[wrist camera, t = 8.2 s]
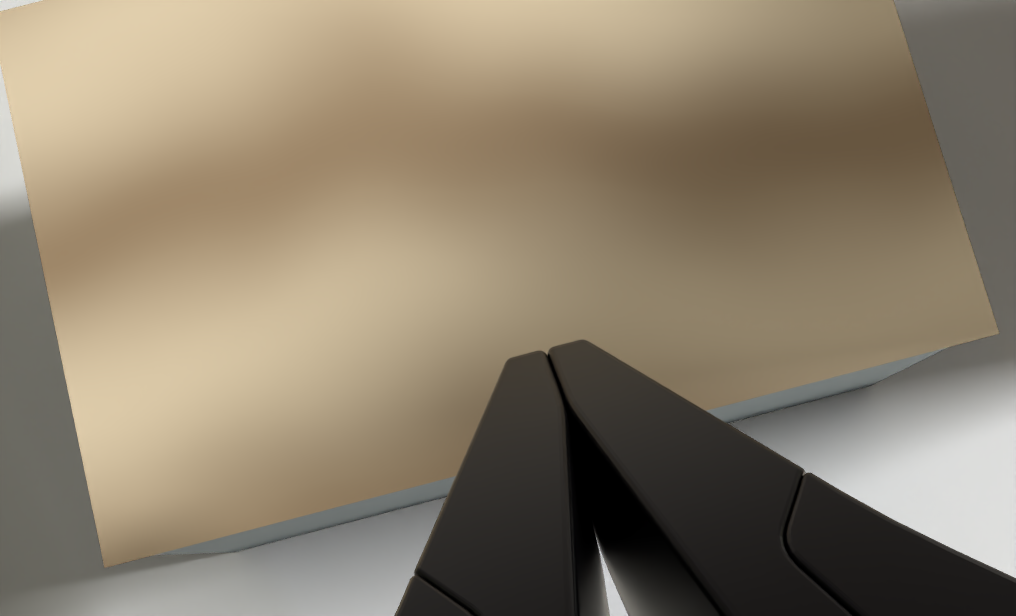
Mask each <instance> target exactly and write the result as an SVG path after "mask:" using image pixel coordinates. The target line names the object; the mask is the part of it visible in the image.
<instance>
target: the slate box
mask: <svg viewBox="0 0 1016 616" xmlns="http://www.w3.org/2000/svg"><path fill="white" fill-rule="evenodd" d="M947 348H948V347H947ZM944 349H946V348H944ZM944 349H940V350H936V351H932V352H928V353H924V354H921V355H917V356H913V357H909V358H905V359H901V360H898V361H894V362H890V363H886V364H882V365H879V366H875V367H871V368H867V369H863V370H859V371H856V372H852V373H848V374H844V375H840V376H837V377H833V378H829V379H825V380H821V381H817V382H814V383H810V384H806V385H802V386H798V387H794V388H791V389H787V390H783V391H779V392H775V393H772V394H768V395H764V396H760V397H756V398H752V399H749V400H745V401H741V402H737V403H733V404H729V405H726V406H722V407H718V408H714V409H710V410H707V412H709V413H710V414H712V415H714V416H715V417H717V418H719V419H720V420H722V421H724V422H725V423H730V422H733V421H737V420H741V419H745V418H749V417H753V416H756V415H760V414H764V413H768V412H772V411H775V410H779V409H783V408H787V407H791V406H795V405H798V404H802V403H806V402H810V401H814V400H817V399H821V398H825V397H829V396H833V395H837V394H840V393H844V392H848V391H852V390H856V389H859V388H863V387H867V386H871V385H873V384H875V383H877V382H879V381H881V380H883V379H885V378H887V377H889V376H891V375H893V374H895V373H897V372H899V371H901V370H903V369H905V368H907V367H909V366H911V365H913V364H915V363H917V362H919V361H921V360H923V359H926V358H928V357H930V356H932V355H934V354H936V353H938V352H940V351H942V350H944ZM455 477H456V476H454V477H450V478H447V479H443V480H439V481H435V482H431V483H428V484H424V485H420V486H416V487H412V488H408V489H405V490H401V491H397V492H393V493H389V494H386V495H382V496H378V497H374V498H370V499H366V500H363V501H359V502H355V503H351V504H347V505H343V506H340V507H336V508H332V509H328V510H324V511H321V512H317V513H313V514H309V515H305V516H301V517H298V518H294V519H290V520H286V521H282V522H278V523H275V524H271V525H267V526H263V527H259V528H256V529H252V530H248V531H244V532H240V533H236V534H233V535H229V536H225V537H221V538H217V539H214V540H210V541H206V542H202V543H198V544H194V545H191V546H187V547H183V548H179V549H175V550H171V551H168V552H164V553H160V554H156V555H172V554H199V553H225V552H237V551H241V550H245V549H249V548H252V547H256V546H260V545H264V544H268V543H271V542H275V541H279V540H283V539H287V538H291V537H294V536H298V535H302V534H306V533H310V532H313V531H317V530H321V529H325V528H329V527H333V526H336V525H340V524H344V523H348V522H352V521H355V520H359V519H363V518H367V517H371V516H375V515H378V514H382V513H386V512H390V511H394V510H397V509H401V508H405V507H409V506H413V505H417V504H420V503H424V502H428V501H432V500H436V499H439V498H443V497H447V495H448V493H449V491H450V488H451V486H452V484H453V481H454V479H455Z"/></svg>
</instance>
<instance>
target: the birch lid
mask: <svg viewBox="0 0 1016 616" xmlns="http://www.w3.org/2000/svg"><path fill="white" fill-rule="evenodd" d="M0 64H1V69H2V74H3V79H4V83H5V88H6V93H7V98H8V103H9V108H10V113H11V117H12V122H13V127H14V132H15V137H16V142H17V146H18V151H19V156H20V161H21V166H22V171H23V175H24V180H25V185H26V190H27V195H28V200H29V205H30V209H31V214H32V219H33V224H34V229H35V234H36V238H37V243H38V248H39V253H40V258H41V263H42V267H43V272H44V277H45V282H46V287H47V292H48V297H49V301H50V306H51V311H52V316H53V321H54V326H55V330H56V335H57V340H58V345H59V350H60V355H61V359H62V364H63V369H64V374H65V379H66V384H67V389H68V393H69V398H70V403H71V408H72V413H73V418H74V422H75V427H76V432H77V437H78V442H79V447H80V451H81V456H82V461H83V466H84V471H85V476H86V481H87V485H88V490H89V495H90V500H91V505H92V510H93V514H94V519H95V524H96V529H97V534H98V539H99V543H100V548H101V553H102V558H103V563H104V568H106V567H110V566H114V565H118V564H122V563H126V562H129V561H133V560H137V559H141V558H145V557H149V556H152V555H156V554H160V553H164V552H168V551H171V550H175V549H179V548H183V547H187V546H191V545H194V544H198V543H202V542H206V541H210V540H214V539H217V538H221V537H225V536H229V535H233V534H236V533H240V532H244V531H248V530H252V529H256V528H259V527H263V526H267V525H271V524H275V523H278V522H282V521H286V520H290V519H294V518H298V517H301V516H305V515H309V514H313V513H317V512H321V511H324V510H328V509H332V508H336V507H340V506H343V505H347V504H351V503H355V502H359V501H363V500H366V499H370V498H374V497H378V496H382V495H386V494H389V493H393V492H397V491H401V490H405V489H408V488H412V487H416V486H420V485H424V484H428V483H431V482H435V481H439V480H443V479H447V478H450V477H454V476H456V475H457V472H458V470H459V468H460V465H461V463H462V461H463V458H464V456H465V454H466V452H467V449H468V447H469V445H470V442H471V440H472V438H473V436H474V433H475V431H476V429H477V426H478V424H479V422H480V419H481V417H482V415H483V413H484V410H485V408H486V406H487V403H488V401H489V399H490V397H491V394H492V392H493V390H494V387H495V385H496V383H497V380H498V378H499V376H500V374H501V371H502V369H503V367H504V364H505V362H506V361H507V360H508V359H509V358H511V357H515V356H519V355H523V354H527V353H530V352H534V351H544V352H545V353H546V354H547V353H548V350H549V349H550V348H552V347H554V346H557V345H561V344H565V343H569V342H573V341H576V340H581V339H584V340H587V341H589V342H591V343H593V344H594V345H596V346H598V347H599V348H601V349H603V350H604V351H606V352H608V353H609V354H611V355H613V356H614V357H616V358H618V359H619V360H621V361H623V362H625V363H626V364H628V365H630V366H631V367H633V368H635V369H636V370H638V371H640V372H641V373H643V374H645V375H646V376H648V377H650V378H651V379H653V380H655V381H656V382H658V383H660V384H662V385H663V386H665V387H667V388H668V389H670V390H672V391H673V392H675V393H677V394H678V395H680V396H682V397H683V398H685V399H687V400H688V401H690V402H692V403H693V404H695V405H697V406H699V407H700V408H702V409H704V410H705V411H707V410H710V409H714V408H718V407H722V406H726V405H729V404H733V403H737V402H741V401H745V400H749V399H752V398H756V397H760V396H764V395H768V394H772V393H775V392H779V391H783V390H787V389H791V388H794V387H798V386H802V385H806V384H810V383H814V382H817V381H821V380H825V379H829V378H833V377H837V376H840V375H844V374H848V373H852V372H856V371H859V370H863V369H867V368H871V367H875V366H879V365H882V364H886V363H890V362H894V361H898V360H901V359H905V358H909V357H913V356H917V355H921V354H924V353H928V352H932V351H936V350H940V349H944V348H947V347H951V346H955V345H959V344H963V343H966V342H970V341H974V340H978V339H982V338H986V337H989V336H993V335H997V334H999V331H998V328H997V324H996V321H995V318H994V315H993V312H992V309H991V305H990V302H989V299H988V296H987V293H986V290H985V287H984V283H983V280H982V277H981V274H980V271H979V268H978V265H977V261H976V258H975V255H974V252H973V249H972V246H971V243H970V239H969V236H968V233H967V230H966V227H965V224H964V221H963V217H962V214H961V211H960V208H959V205H958V202H957V199H956V195H955V192H954V189H953V186H952V183H951V180H950V177H949V173H948V170H947V167H946V164H945V161H944V158H943V155H942V151H941V148H940V145H939V142H938V139H937V136H936V133H935V129H934V126H933V123H932V120H931V117H930V114H929V111H928V107H927V104H926V101H925V98H924V95H923V92H922V89H921V85H920V82H919V79H918V76H917V73H916V70H915V66H914V63H913V60H912V57H911V54H910V51H909V48H908V44H907V41H906V38H905V35H904V32H903V29H902V26H901V22H900V19H899V16H898V13H897V10H896V7H895V4H894V0H43V1H39V2H35V3H31V4H27V5H24V6H20V7H16V8H12V9H8V10H4V11H0ZM547 356H548V354H547Z"/></svg>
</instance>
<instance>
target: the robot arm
mask: <svg viewBox="0 0 1016 616" xmlns="http://www.w3.org/2000/svg"><path fill="white" fill-rule="evenodd" d="M547 354H548V356H547ZM547 354H546V353H545V352H544V351H534V352H530V353H527V354H523V355H519V356H515V357H511V358H509V359H508V360H507V361H506V362H505V364H504V367H503V369H502V371H501V374H500V376H499V378H498V380H497V383H496V385H495V387H494V390H493V392H492V394H491V397H490V399H489V401H488V403H487V406H486V408H485V410H484V413H483V415H482V417H481V419H480V422H479V424H478V426H477V429H476V431H475V433H474V436H473V438H472V440H471V442H470V445H469V447H468V449H467V452H466V454H465V456H464V458H463V461H462V463H461V465H460V468H459V470H458V472H457V475H456V477H455V479H454V481H453V484H452V486H451V488H450V491H449V493H448V495H447V498H446V500H445V502H444V504H443V507H442V509H441V511H440V514H439V516H438V518H437V520H436V523H435V525H434V527H433V530H432V532H431V534H430V537H429V539H428V541H427V543H426V546H425V548H424V550H423V553H422V555H421V557H420V559H419V562H418V564H417V566H416V569H415V571H414V575H415V576H413V577H412V578H411V579H410V581H409V584H408V586H407V588H406V591H405V593H404V595H403V598H402V600H401V602H400V605H399V607H398V609H397V611H396V613H395V615H394V616H610V614H609V607H608V601H607V594H606V587H605V581H604V574H603V569H602V563H601V558H600V553H599V548H598V544H599V547H600V550H601V553H602V555H603V558H604V560H605V563H606V565H607V568H608V570H609V573H610V575H611V577H612V579H613V582H614V584H615V586H616V588H617V591H618V593H619V595H620V597H621V600H622V602H623V604H624V607H625V609H626V611H627V613H628V616H1016V578H1014V577H1012V576H1010V575H1008V574H1006V573H1003V572H1001V571H999V570H997V569H995V568H993V567H991V566H988V565H986V564H984V563H982V562H980V561H978V560H975V559H973V558H971V557H969V556H967V555H965V554H963V553H960V552H958V551H956V550H954V549H952V548H950V547H948V546H946V545H944V544H942V543H940V542H938V541H936V540H934V539H931V538H929V537H927V536H925V535H923V534H921V533H919V532H917V531H915V530H913V529H911V528H909V527H907V526H905V525H903V524H901V523H899V522H897V521H895V520H893V519H891V518H889V517H887V516H885V515H884V514H882V513H880V512H878V511H876V510H875V509H873V508H871V507H869V506H867V505H866V504H864V503H862V502H860V501H858V500H857V499H855V498H853V497H851V496H849V495H848V494H846V493H844V492H842V491H841V490H839V489H837V488H835V487H834V486H832V485H830V484H829V483H827V482H825V481H824V480H822V479H820V478H819V477H817V476H815V475H814V474H812V473H806V474H805V471H804V470H803V468H801V467H799V466H798V465H796V464H794V463H793V462H791V461H789V460H788V459H786V458H784V457H783V456H781V455H779V454H778V453H776V452H774V451H773V450H771V449H769V448H768V447H766V446H764V445H762V444H761V443H759V442H757V441H756V440H754V439H752V438H751V437H749V436H747V435H746V434H744V433H742V432H741V431H739V430H737V429H736V428H734V427H732V426H731V425H729V424H727V423H725V422H724V421H722V420H720V419H719V418H717V417H715V416H714V415H712V414H710V413H709V412H707V411H705V410H704V409H702V408H700V407H699V406H697V405H695V404H693V403H692V402H690V401H688V400H687V399H685V398H683V397H682V396H680V395H678V394H677V393H675V392H673V391H672V390H670V389H668V388H667V387H665V386H663V385H662V384H660V383H658V382H656V381H655V380H653V379H651V378H650V377H648V376H646V375H645V374H643V373H641V372H640V371H638V370H636V369H635V368H633V367H631V366H630V365H628V364H626V363H625V362H623V361H621V360H619V359H618V358H616V357H614V356H613V355H611V354H609V353H608V352H606V351H604V350H603V349H601V348H599V347H598V346H596V345H594V344H593V343H591V342H589V341H587V340H584V339H581V340H576V341H573V342H569V343H565V344H561V345H557V346H554V347H552V348H550V349H549V350H548V353H547ZM596 538H597V540H596ZM597 541H598V544H597Z"/></svg>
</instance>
